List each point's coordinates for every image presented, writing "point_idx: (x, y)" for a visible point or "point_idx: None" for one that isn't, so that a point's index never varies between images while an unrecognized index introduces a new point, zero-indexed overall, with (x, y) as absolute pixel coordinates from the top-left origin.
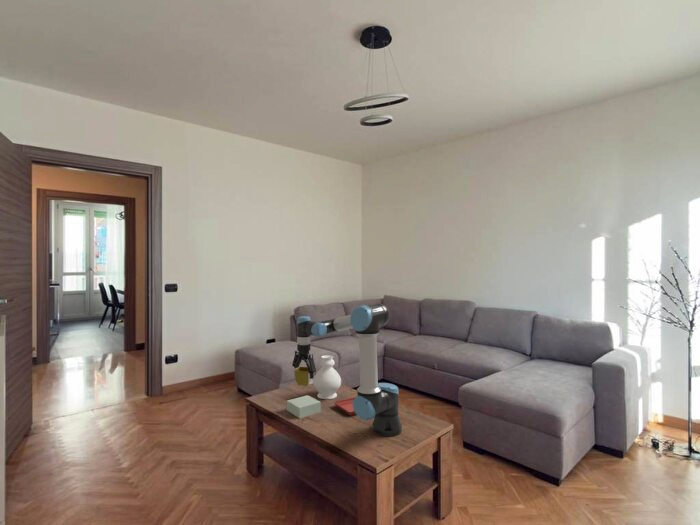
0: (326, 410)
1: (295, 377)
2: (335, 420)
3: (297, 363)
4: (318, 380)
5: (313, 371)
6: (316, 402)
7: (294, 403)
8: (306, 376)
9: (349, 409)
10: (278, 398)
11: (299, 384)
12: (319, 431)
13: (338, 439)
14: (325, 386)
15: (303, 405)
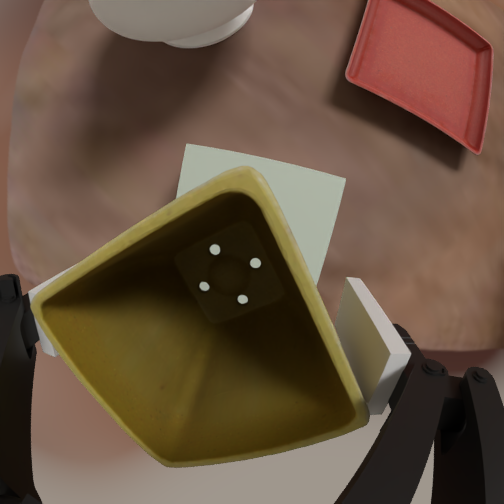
0: (343, 144)
1: (192, 405)
2: (442, 217)
3: (29, 414)
4: (159, 14)
5: (465, 419)
6: (329, 202)
7: None
8: (323, 384)
9: (427, 87)
10: (55, 197)
11: (227, 333)
12: (434, 329)
13: (494, 324)
14: (231, 12)
15: None
